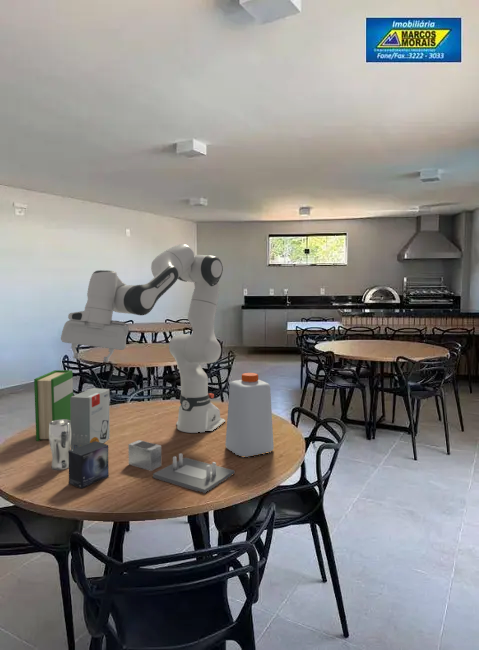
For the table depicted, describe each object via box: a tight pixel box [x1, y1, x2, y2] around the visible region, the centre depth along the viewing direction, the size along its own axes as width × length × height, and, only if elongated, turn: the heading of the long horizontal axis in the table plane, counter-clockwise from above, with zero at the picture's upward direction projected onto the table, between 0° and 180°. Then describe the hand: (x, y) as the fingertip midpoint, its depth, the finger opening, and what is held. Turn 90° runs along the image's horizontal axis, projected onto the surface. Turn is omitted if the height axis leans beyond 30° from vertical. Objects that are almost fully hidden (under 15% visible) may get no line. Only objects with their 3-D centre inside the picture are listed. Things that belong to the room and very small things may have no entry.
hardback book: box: [33, 369, 74, 442], centre depth 182 cm, size 18×7×24 cm, turn 178°
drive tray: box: [152, 453, 236, 494], centre depth 143 cm, size 16×20×5 cm
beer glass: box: [48, 419, 72, 471], centre depth 149 cm, size 7×7×15 cm
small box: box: [68, 441, 110, 489], centre depth 139 cm, size 11×6×10 cm, turn 148°
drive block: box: [127, 439, 162, 472], centre depth 152 cm, size 5×10×7 cm, turn 58°
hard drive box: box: [70, 387, 111, 450], centre depth 169 cm, size 16×8×20 cm, turn 168°
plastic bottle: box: [225, 372, 274, 458], centre depth 165 cm, size 15×15×28 cm
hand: (90, 360), depth 148 cm, fingers open, 8 cm apart
